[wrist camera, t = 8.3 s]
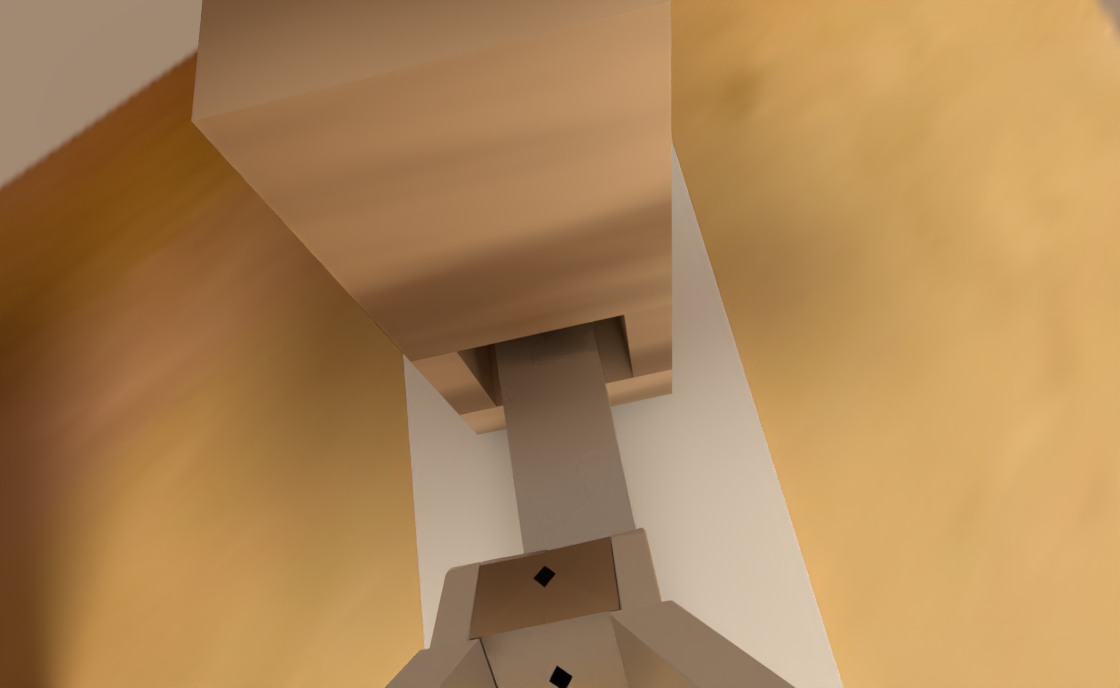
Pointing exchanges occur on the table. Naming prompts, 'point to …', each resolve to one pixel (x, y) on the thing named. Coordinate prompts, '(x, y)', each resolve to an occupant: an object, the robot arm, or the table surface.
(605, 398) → the sliding carriage track
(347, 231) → the wooden slider block
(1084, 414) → the table surface
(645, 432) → the board
